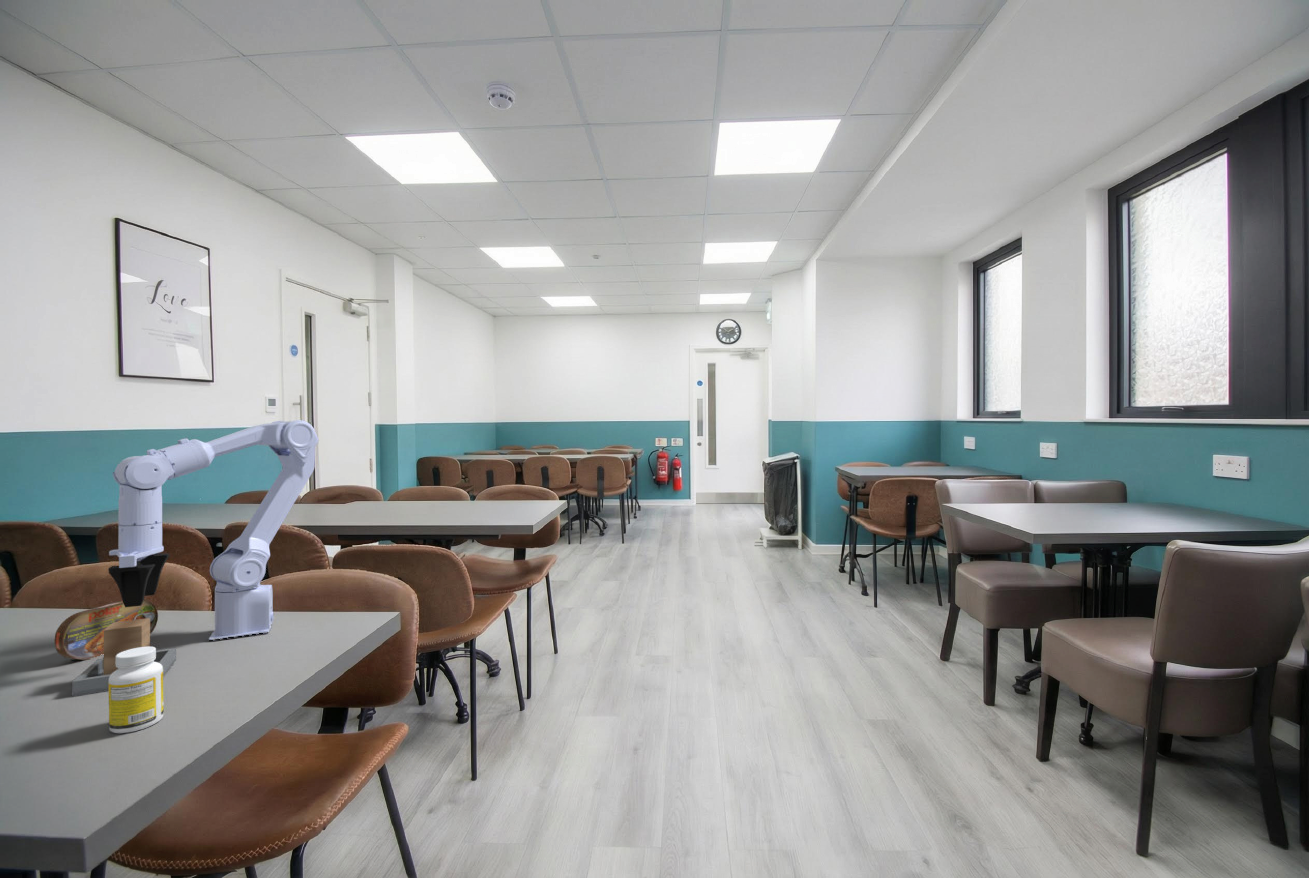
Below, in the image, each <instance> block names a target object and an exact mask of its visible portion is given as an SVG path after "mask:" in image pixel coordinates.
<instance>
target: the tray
mask: <svg viewBox="0 0 1309 878" xmlns="http://www.w3.org/2000/svg"><path fill="white" fill-rule="evenodd" d="M103 658H104V657H103ZM103 658H97V659H96V660H95V661H94V662H92V664H90V665H89V666H88V667H87V668H86V669H85V670H84V671H82V673H80V674H79V675H78V676H77V677H76V678H75V679H73V680H72V682H71V683H72V684H71V689H72V690H71V691H72V692H71V693H72V694H71V695H72V697H77V696H78V697H79V696H83V695H89V694H95V693H96V694H97V693H102V692H109V685H108V682H109V677H110V675H111V674H109V675H103ZM175 661H177V648H176V647H174V648H166V649H160V650H156V659H155V660H154V662H158V663H160V664H161V665H162V666H163V678H164V677H165V676H166V675H167V673H168V672H169V671H170V670H171V668H172V667H173V666H174V664H175V663H176V662H175ZM174 662H175V663H174ZM171 666H172V667H171Z"/></svg>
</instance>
